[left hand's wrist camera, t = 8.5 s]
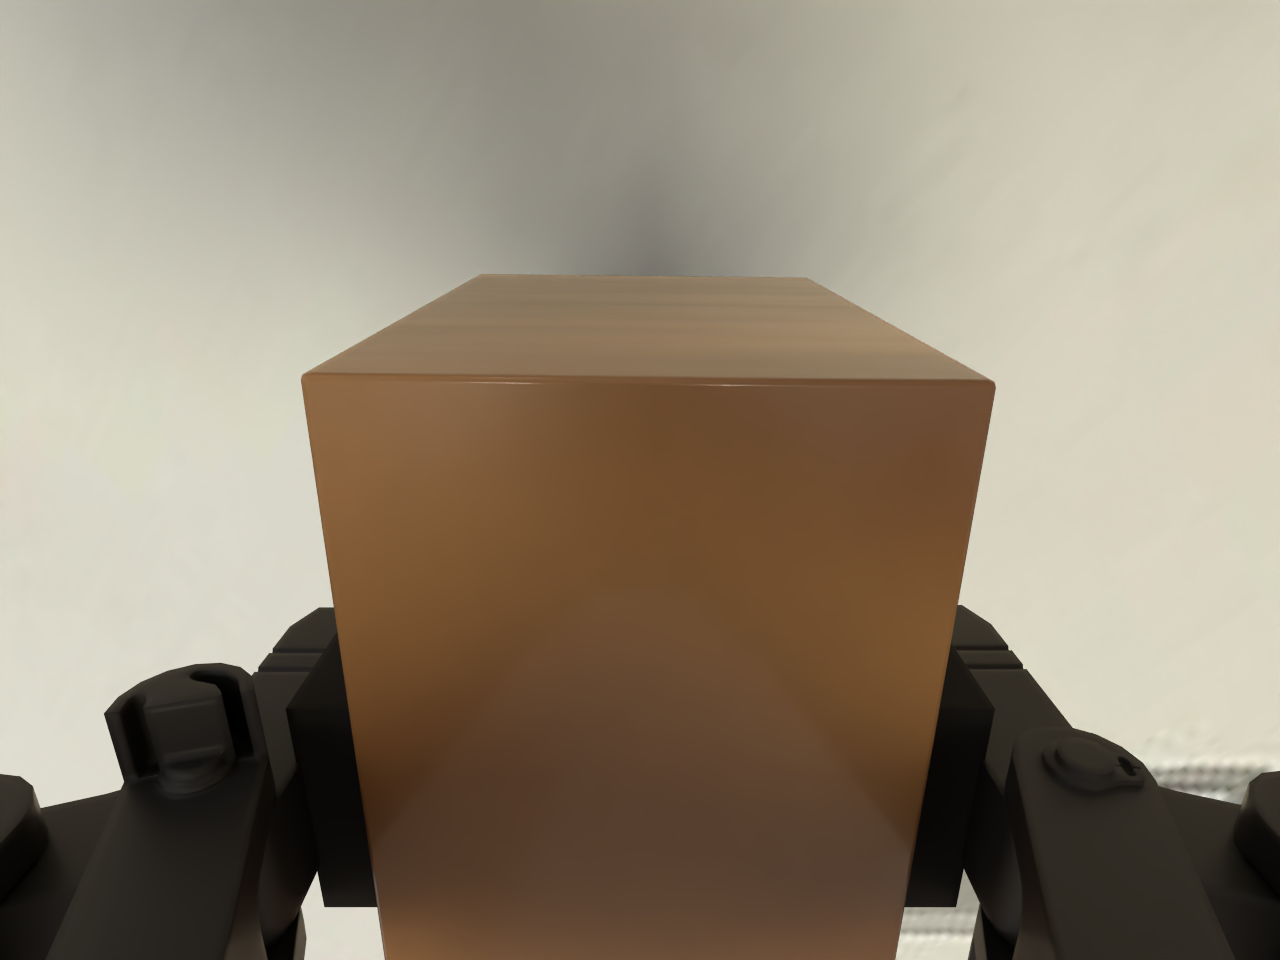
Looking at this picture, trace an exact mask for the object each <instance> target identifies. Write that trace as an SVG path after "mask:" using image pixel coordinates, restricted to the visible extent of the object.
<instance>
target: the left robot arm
mask: <svg viewBox="0 0 1280 960" xmlns="http://www.w3.org/2000/svg"><path fill="white" fill-rule="evenodd" d="M104 716H105V719H106V722H107V726H108V729H109V732H110V736H111V739H112V742H113V746H114V749H115V752H116V756H117V759H118V762H119V766H120V769H121V772H122V776H123V779H124V784H123V786H122V788H121V790H119V791H115V792H112V793H108V794H104V795H99V796H95V797H90V798H86V799H81V800H76V801H72V802H67V803H63V804H58V805H53V806H49V807H44V808H40V806H39V803H38V800H37V797H36V794H35V792H34V789H33V786H32V785H31V784H29V783H28V782H27V781H25V780H24V779H23V778H21V777H20V776H12V775H3V774H0V960H304V955H305V946H306V932H305V925H304V919H303V914H302V909H301V905H302V903H303V901H304V898H305V896H306V894H307V892H308V890H309V888H310V885H311V883H312V881H313V879H314V877H315V875H316V873H317V871H318V876H319V882H320V887H321V892H322V897H323V902H324V907H377V901H376V894H375V887H374V880H373V873H372V866H371V859H370V852H369V845H368V839H367V832H366V825H365V818H364V811H363V804H362V797H361V790H360V783H359V777H358V770H357V763H356V756H355V749H354V742H353V735H352V728H351V721H350V715H349V708H348V701H347V694H346V687H345V680H344V673H343V666H342V659H341V652H340V646H339V639H338V632H337V625H336V618H335V611H334V608H318V609H316V610H315V611H313V612H312V613H310V614H309V615H307V616H305V617H304V618H302V619H301V620H299V621H298V622H296V623H295V624H293V625H292V626H290V627H289V629H288V630H287V631H286V632H285V634H284V635H283V636H282V638H281V639H280V640H279V641H278V643H277V644H276V645H275V647H274V648H273V653H269V654H268V656H267V657H266V658H265V659H264V661H263V662H262V663H261V665H260V666H259V667H258V672H254V673H253V675H252V676H251V675H250V674H248V673H247V672H246V671H245V670H243V669H242V668H241V667H238V666H233V665H228V664H223V663H210V664H194V665H190V666H186V667H182V668H178V669H173V670H169V671H166V672H164V673H161V674H159V675H157V676H154V677H152V678H150V679H147V680H145V681H142V682H140V683H139V684H137V685H136V686H134V687H133V688H131V689H130V690H128V691H127V692H125V693H124V694H122V695H121V696H119V697H118V698H117V699H116V700H115V701H114V703H113V704H112V705H111V706H110V707H109V708H108V710H107V711H106V712H105V713H104ZM963 869H964V870H965V872H966V874H967V876H968V878H969V880H970V882H971V885H972V887H973V889H974V891H975V893H976V895H977V897H978V900H979V902H980V905H979V909H978V914H977V919H976V924H975V928H974V933H973V938H972V942H971V947H970V952H969V957H968V960H1280V771H1276V772H1267V773H1261V774H1260V775H1259V776H1257V777H1256V778H1255V779H1253V780H1252V781H1251V782H1250V783H1249V785H1248V788H1247V791H1246V794H1245V796H1244V799H1243V802H1242V805H1238V804H1234V803H1229V802H1224V801H1220V800H1215V799H1211V798H1206V797H1201V796H1197V795H1192V794H1187V793H1183V792H1178V791H1174V790H1171V789H1167V788H1163V787H1160V786H1158V784H1157V782H1156V780H1155V779H1154V778H1153V776H1152V775H1151V773H1150V772H1149V771H1148V769H1147V768H1146V767H1145V765H1144V764H1143V763H1142V762H1141V761H1140V760H1138V759H1137V758H1136V757H1134V756H1133V755H1132V754H1130V753H1129V752H1128V751H1127V750H1125V749H1124V748H1123V747H1121V746H1119V745H1117V744H1115V743H1113V742H1111V741H1109V740H1107V739H1105V738H1102V737H1100V736H1098V735H1096V734H1093V733H1089V732H1085V731H1082V730H1078V729H1074V728H1072V727H1071V725H1070V724H1069V723H1068V721H1067V720H1066V719H1065V718H1064V716H1063V715H1062V714H1061V713H1060V711H1059V710H1058V709H1057V707H1056V706H1055V705H1054V704H1053V702H1052V701H1051V700H1050V699H1049V697H1048V696H1047V695H1046V693H1045V692H1044V691H1043V690H1042V688H1041V687H1040V686H1039V685H1038V683H1037V682H1036V681H1035V679H1034V678H1033V677H1032V676H1031V674H1030V673H1029V672H1028V671H1027V669H1023V664H1022V663H1021V662H1020V660H1019V659H1018V658H1017V657H1016V655H1015V654H1014V653H1013V651H1009V650H1008V645H1007V644H1006V643H1005V641H1004V640H1003V639H1002V637H1001V636H1000V635H999V634H998V632H997V631H996V630H995V629H994V627H993V626H992V625H991V624H990V623H989V622H987V621H985V620H984V619H982V618H981V617H979V616H978V615H976V614H975V613H973V612H972V611H970V610H969V609H967V608H965V607H964V606H962V605H957V611H956V616H955V622H954V628H953V633H952V639H951V645H950V651H949V656H948V662H947V668H946V673H945V679H944V685H943V690H942V696H941V702H940V707H939V713H938V719H937V724H936V730H935V736H934V742H933V747H932V753H931V759H930V764H929V770H928V776H927V781H926V787H925V793H924V798H923V804H922V810H921V815H920V821H919V827H918V832H917V838H916V844H915V850H914V855H913V861H912V867H911V872H910V878H909V884H908V889H907V895H906V901H905V906H904V907H956V905H957V899H958V894H959V889H960V884H961V879H962V874H963Z"/></svg>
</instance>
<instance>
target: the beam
mask: <svg viewBox="0 0 1280 960" xmlns="http://www.w3.org/2000/svg"><path fill="white" fill-rule="evenodd" d="M301 384H302V390H303V397H304V404H305V411H306V418H307V425H308V432H309V439H310V446H311V453H312V459H313V466H314V473H315V480H316V487H317V494H318V501H319V508H320V515H321V521H322V528H323V535H324V542H325V549H326V556H327V563H328V570H329V577H330V584H331V590H332V597H333V604H334V611H335V618H336V625H337V632H338V639H339V646H340V652H341V659H342V666H343V673H344V680H345V687H346V694H347V701H348V708H349V715H350V721H351V728H352V735H353V742H354V749H355V756H356V763H357V770H358V777H359V783H360V790H361V797H362V804H363V811H364V818H365V825H366V832H367V839H368V845H369V852H370V859H371V866H372V873H373V880H374V887H375V894H376V901H377V908H378V914H379V921H380V928H381V935H382V942H383V949H384V956H385V960H895V958H896V952H897V946H898V941H899V935H900V929H901V923H902V918H903V912H904V906H905V901H906V895H907V889H908V884H909V878H910V872H911V867H912V861H913V855H914V850H915V844H916V838H917V832H918V827H919V821H920V815H921V810H922V804H923V798H924V793H925V787H926V781H927V776H928V770H929V764H930V759H931V753H932V747H933V742H934V736H935V730H936V724H937V719H938V713H939V707H940V702H941V696H942V690H943V685H944V679H945V673H946V668H947V662H948V656H949V651H950V645H951V639H952V633H953V628H954V622H955V616H956V611H957V605H958V599H959V594H960V588H961V582H962V577H963V571H964V565H965V560H966V554H967V548H968V543H969V537H970V531H971V525H972V520H973V514H974V508H975V503H976V497H977V491H978V486H979V480H980V474H981V469H982V463H983V457H984V452H985V446H986V440H987V435H988V429H989V423H990V417H991V412H992V406H993V400H994V395H995V389H996V387H995V383H994V381H992V380H990V379H988V378H987V377H985V376H983V375H981V374H979V373H978V372H976V371H974V370H972V369H970V368H969V367H967V366H965V365H963V364H961V363H959V362H958V361H956V360H954V359H952V358H950V357H949V356H947V355H945V354H943V353H941V352H940V351H938V350H936V349H934V348H932V347H931V346H929V345H927V344H925V343H923V342H922V341H920V340H918V339H916V338H914V337H913V336H911V335H909V334H907V333H905V332H904V331H902V330H900V329H898V328H896V327H895V326H893V325H891V324H889V323H887V322H886V321H884V320H882V319H880V318H878V317H877V316H875V315H873V314H871V313H869V312H868V311H866V310H864V309H862V308H860V307H859V306H857V305H855V304H853V303H851V302H850V301H848V300H846V299H844V298H842V297H841V296H839V295H837V294H835V293H833V292H832V291H830V290H828V289H826V288H824V287H823V286H821V285H819V284H817V283H815V282H814V281H812V280H810V279H808V278H788V277H700V276H611V275H522V274H481V275H478V276H477V277H475V278H473V279H471V280H470V281H468V282H466V283H464V284H462V285H461V286H459V287H457V288H455V289H454V290H452V291H450V292H448V293H446V294H445V295H443V296H441V297H439V298H438V299H436V300H434V301H432V302H430V303H429V304H427V305H425V306H423V307H422V308H420V309H418V310H416V311H414V312H413V313H411V314H409V315H407V316H405V317H404V318H402V319H400V320H398V321H397V322H395V323H393V324H391V325H389V326H388V327H386V328H384V329H382V330H381V331H379V332H377V333H375V334H373V335H372V336H370V337H368V338H366V339H365V340H363V341H361V342H359V343H357V344H356V345H354V346H352V347H350V348H349V349H347V350H345V351H343V352H341V353H340V354H338V355H336V356H334V357H333V358H331V359H329V360H327V361H325V362H324V363H322V364H320V365H318V366H317V367H315V368H313V369H311V370H309V371H308V372H306V373H304V374H303V375H302V378H301Z"/></svg>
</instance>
